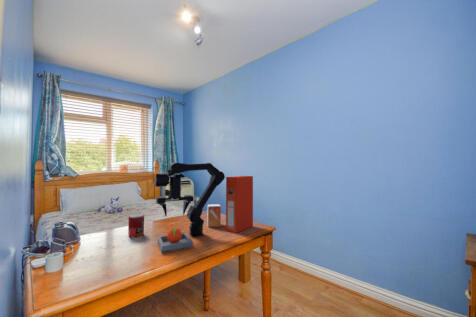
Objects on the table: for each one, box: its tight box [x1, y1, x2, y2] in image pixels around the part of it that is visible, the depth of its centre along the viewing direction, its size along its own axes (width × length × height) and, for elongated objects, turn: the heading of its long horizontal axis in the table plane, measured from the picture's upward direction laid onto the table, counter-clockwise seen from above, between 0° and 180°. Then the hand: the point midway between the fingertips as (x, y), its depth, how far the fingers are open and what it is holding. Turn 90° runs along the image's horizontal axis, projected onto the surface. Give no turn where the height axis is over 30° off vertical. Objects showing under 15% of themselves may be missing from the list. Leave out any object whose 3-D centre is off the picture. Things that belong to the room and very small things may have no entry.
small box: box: [206, 203, 222, 228], centre depth 137 cm, size 8×6×13 cm
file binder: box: [225, 175, 254, 234], centre depth 131 cm, size 8×17×32 cm, turn 143°
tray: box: [156, 232, 194, 254], centre depth 104 cm, size 14×14×3 cm
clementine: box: [166, 227, 183, 243], centre depth 104 cm, size 8×7×7 cm
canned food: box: [127, 212, 145, 238], centre depth 117 cm, size 8×8×11 cm
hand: (174, 215), depth 114 cm, fingers open, 9 cm apart
